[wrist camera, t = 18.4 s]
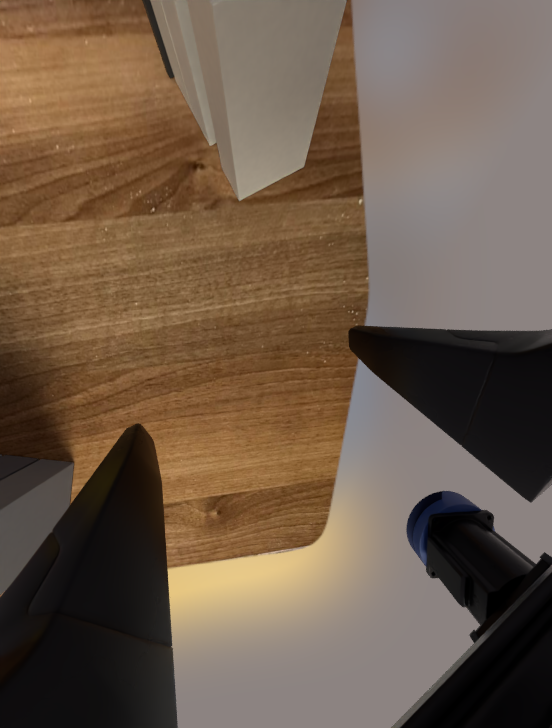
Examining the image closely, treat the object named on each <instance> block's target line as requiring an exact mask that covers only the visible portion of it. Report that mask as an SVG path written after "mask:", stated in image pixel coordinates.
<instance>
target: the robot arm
mask: <svg viewBox="0 0 552 728" xmlns="http://www.w3.org/2000/svg"><path fill="white" fill-rule="evenodd" d="M349 347H350V349H351V351H352V352H353V353H354V354H355V355H356V356H357V357H358V358H359V359H360V360H361V361H362V362H363V363H364V364H365V365H366V366H367V367H368V368H369V369H370V370H371V371H372V372H373V373H374V374H375V375H377V376H378V377H379V378H380V379H381V380H383V381H384V382H385V383H386V384H387V385H389V386H390V387H391V388H392V389H393V390H395V391H396V392H397V393H398V394H400V395H401V396H402V397H403V398H404V399H406V400H407V401H408V402H409V403H410V404H412V405H413V406H414V407H415V408H416V409H418V410H419V411H420V412H421V413H423V414H424V415H425V416H426V417H427V418H428V419H430V420H431V421H432V422H433V423H434V424H436V425H437V426H438V427H439V428H441V429H442V430H443V431H444V432H445V433H447V434H448V435H449V436H450V437H451V438H453V439H454V440H455V441H456V442H457V443H459V444H460V445H462V447H463V448H465V449H466V450H467V451H468V452H469V453H470V454H472V455H473V456H474V457H475V458H476V459H478V460H479V461H480V462H481V463H482V464H484V465H485V466H486V467H487V468H489V469H490V470H491V471H492V472H494V474H496V475H497V476H498V477H499V478H501V479H502V480H503V481H504V482H505V483H507V484H508V485H509V486H510V487H511V488H513V489H514V490H515V491H516V492H517V493H519V494H520V495H521V496H522V497H524V498H525V499H526V500H528V501H529V502H533V500H535V499H536V498H537V497H538V496H539V495H541V494H542V493H543V492H544V491H545V490H546V489H547V488H549V487H550V486H551V485H552V329H551V330H543V331H472V330H444V329H423V328H400V327H377V326H355V327H353V328H351V329H350V330H349ZM493 522H494V516H493V514H492V513H490V512H489V511H487V510H481V511H466V512H451V513H437V514H431V515H430V516H429V518H428V540H427V563H426V572H427V573H428V575H429V576H430V577H431V578H439V579H440V580H441V581H442V582H443V584H444V585H445V586H446V588H447V589H448V590H449V591H450V593H451V594H452V595H453V597H454V598H455V599H456V601H457V602H458V603H459V604H460V605H461V606H462V607H466V608H467V609H468V610H469V611H470V613H471V614H472V615H473V616H474V618H475V619H476V620H477V621H478V623H479V624H480V626H479V628H478V629H477V630H476V631H475V630H473V631H472V632H471V633H470V637H471V639H472V640H473V642H474V644H473V645H472V646H471V647H470V648H469V649H468V650H467V651H466V652H465V653H464V654H463V655H462V656H461V658H459V659H458V660H457V661H456V662H455V663H454V664H453V665H452V666H451V667H450V669H449V670H448V671H446V672H445V674H444V675H443V676H442V677H441V678H440V679H439V680H438V681H437V682H436V683H435V684H434V685H433V686H432V687H431V688H430V689H429V690H428V691H427V692H426V693H425V694H424V695H423V696H422V697H421V698H420V699H419V700H418V701H417V702H416V703H415V704H414V705H413V706H412V707H411V708H410V709H409V710H408V711H407V712H406V713H405V714H404V715H403V716H402V717H401V718H400V719H399V720H398V721H397V722H396V723H395V724H394V725H393V726H392V727H391V728H552V557H551V556H549V555H548V554H546V553H545V552H544V553H543V554H542V555H541V556H540V558H541V559H540V561H539V562H538V563H537V564H535V563H534V562H533V561H531V560H530V559H529V558H528V557H526V556H525V555H524V554H523V553H521V552H520V551H519V550H518V549H516V548H515V547H514V546H512V545H511V544H510V543H509V542H508V541H506V540H505V539H504V538H503V537H501V536H500V535H499V534H497V533H496V532H495V531H494V530H493ZM171 646H172V634H171V620H170V603H169V587H168V571H167V555H166V540H165V524H164V508H163V492H162V480H161V475H160V470H159V465H158V460H157V455H156V450H155V445H154V441H153V439H152V437H151V436H150V435H149V434H148V432H147V431H146V430H145V429H144V427H143V426H142V425H141V424H135V425H133V426H131V427H129V428H127V429H126V430H125V431H124V433H123V434H122V435H121V437H120V438H119V439H118V441H117V442H116V443H115V445H114V446H113V448H112V449H111V450H110V452H109V453H108V454H107V456H106V457H105V458H104V460H103V461H102V463H101V464H100V465H99V467H98V468H97V469H96V471H95V472H94V473H93V475H92V476H91V477H90V479H89V480H88V482H87V483H86V484H85V486H84V487H83V488H82V490H81V491H80V492H79V494H78V495H77V497H76V498H75V499H74V501H73V502H72V503H71V505H70V506H69V507H68V509H67V510H66V511H65V513H64V514H63V516H62V517H61V518H60V520H59V521H58V522H57V524H56V525H55V526H54V528H53V529H52V532H51V533H49V534H48V536H47V537H46V539H45V540H44V541H43V543H42V544H41V545H40V547H39V548H38V549H37V551H36V552H35V553H34V555H33V556H32V557H31V559H30V560H29V561H28V563H27V564H26V565H25V567H24V568H23V569H22V571H21V572H20V573H19V575H18V576H17V577H16V578H15V580H14V581H13V582H12V583H11V585H10V586H9V587H8V588H7V590H6V591H5V592H4V593H3V595H2V596H1V597H0V728H178V726H177V710H176V695H175V679H174V664H173V648H172V647H171Z"/></svg>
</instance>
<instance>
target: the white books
mask: <svg viewBox="0 0 552 728" xmlns="http://www.w3.org/2000/svg"><path fill="white" fill-rule="evenodd" d="M142 1H143V4H144V7H145V10H146V13H147V15H148V18H149V21H150V24H151V27H152V30H153V33H154V36H155V39H156V42H157V45H158V48H159V51H160V54H161V57H162V60H163V63H164V66H165V69H166V72H167V74H168V75H169V77H170V78H173V77H175V80H176V83H177V85H178V86H179V88H180V90H181V92H182V94H183V96H184V98H185V100H186V102H187V104H188V105H189V107H190V109H191V111H192V113H193V115H194V117H195V119H196V121H197V123H198V124H199V126H200V128H201V130H202V132H203V134H204V136H205V138H206V140H207V142H208V143H209V145H210V146H211V145H213V144H215V143H217V142H216V137H215V132H214V127H213V123H212V118H211V113H210V108H209V104H208V99H207V94H206V89H205V84H204V80H203V75H202V70H201V65H200V61H199V56H198V51H197V46H196V41H195V37H194V32H193V27H192V22H191V18H190V13H189V8H188V3H187V0H142Z"/></svg>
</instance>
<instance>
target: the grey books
mask: <svg viewBox="0 0 552 728" xmlns="http://www.w3.org/2000/svg"><path fill="white" fill-rule="evenodd" d="M38 460H39V459H37V458H28V457H19V456H10V455H4V456H2V455H0V595H1V594H2V593H3V592H4V591H5V590H6V589H7V588H8V587H9V586H10V585H11V583H12V582H13V581H14V580H15V578H16V577H17V576H18V575H19V573H20V572H21V571H22V569H23V568H24V567H25V565H26V564H27V563H28V561H29V560H30V559H31V557H32V556H33V555H34V553H35V552H36V551H37V549H38V548H39V547H40V545H41V544H42V543H43V541H44V540H45V539H46V537H47V536H48V534H49V533H51V532H52V529H53V528H54V526H55V525H56V524H57V522H58V521H59V520H60V518H61V517H62V516H63V514H64V513H65V511H66V510H67V509H68V507H69V506H70V497H71V488H72V478H73V468H74V463H73V462H64V461H55V460H46V459H40V460H39V461H38Z"/></svg>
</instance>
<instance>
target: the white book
mask: <svg viewBox="0 0 552 728" xmlns="http://www.w3.org/2000/svg"><path fill="white" fill-rule="evenodd" d="M346 1H347V0H187V3H188V8H189V13H190V18H191V22H192V27H193V32H194V37H195V41H196V46H197V51H198V56H199V61H200V65H201V70H202V75H203V80H204V84H205V89H206V94H207V99H208V104H209V108H210V113H211V118H212V123H213V127H214V132H215V137H216V142H217V147H218V151H219V156H220V161H221V166H222V169H223V171H224V173H225V175H226V177H227V179H228V181H229V183H230V185H231V187H232V189H233V191H234V192H235V194H236V196H237V198H238V200H239V201H240V200H242V199H244V198H246V197H248V196H250V195H252V194H254V193H256V192H257V191H259V190H261V189H263V188H265V187H267V186H269V185H271V184H273V183H275V182H276V181H278V180H280V179H282V178H284V177H286V176H288V175H290V174H292V173H293V172H295V171H297V170H299V169H301V168H303V167H304V165H305V161H306V157H307V154H308V150H309V146H310V142H311V138H312V134H313V130H314V126H315V122H316V118H317V114H318V111H319V107H320V103H321V99H322V95H323V91H324V87H325V83H326V79H327V75H328V71H329V68H330V64H331V60H332V56H333V52H334V48H335V44H336V40H337V36H338V32H339V29H340V25H341V21H342V17H343V13H344V9H345V5H346Z"/></svg>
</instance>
